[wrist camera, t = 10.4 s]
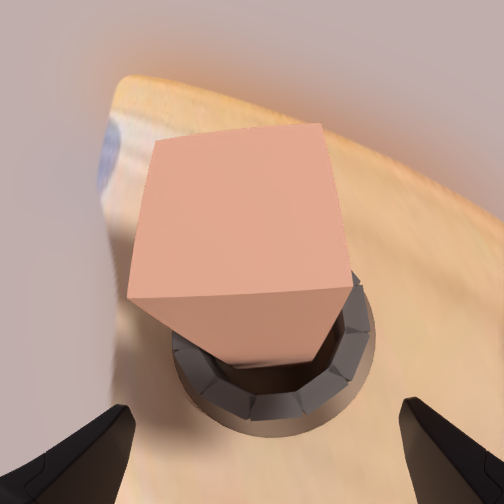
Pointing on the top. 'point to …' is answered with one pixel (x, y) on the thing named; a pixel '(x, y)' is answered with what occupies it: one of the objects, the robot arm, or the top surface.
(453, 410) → the top surface
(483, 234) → the top surface
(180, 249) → the terracotta peg
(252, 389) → the socket
